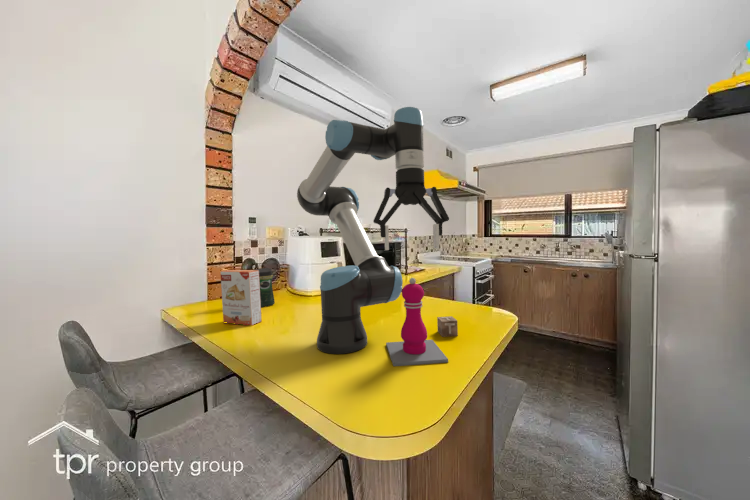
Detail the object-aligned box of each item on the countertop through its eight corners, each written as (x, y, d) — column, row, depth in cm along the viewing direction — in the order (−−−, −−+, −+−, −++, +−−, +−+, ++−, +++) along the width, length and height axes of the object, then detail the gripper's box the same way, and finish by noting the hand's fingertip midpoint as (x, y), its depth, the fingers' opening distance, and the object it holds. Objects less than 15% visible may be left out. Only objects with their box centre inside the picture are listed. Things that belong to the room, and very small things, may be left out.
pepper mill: (427, 356, 75) (425, 279, 74) (399, 354, 76) (397, 279, 75) (428, 345, 82) (426, 276, 81) (402, 344, 83) (400, 276, 82)
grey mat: (393, 366, 71) (393, 363, 71) (386, 345, 85) (386, 342, 85) (448, 362, 73) (448, 359, 73) (432, 342, 86) (432, 339, 86)
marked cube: (442, 337, 91) (442, 321, 91) (437, 331, 96) (437, 316, 96) (457, 336, 91) (457, 320, 91) (452, 330, 96) (451, 315, 96)
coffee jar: (271, 302, 148) (269, 266, 147) (276, 305, 142) (274, 268, 141) (251, 305, 143) (249, 268, 142) (255, 308, 136) (253, 269, 135)
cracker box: (222, 324, 113) (219, 271, 112) (234, 319, 118) (231, 269, 117) (251, 326, 108) (248, 271, 107) (262, 321, 114) (259, 269, 113)
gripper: (363, 166, 72) (366, 251, 73) (460, 165, 74) (461, 247, 75) (362, 173, 79) (365, 250, 80) (450, 172, 82) (451, 246, 82)
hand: (411, 249), depth 78 cm, fingers open, 13 cm apart
